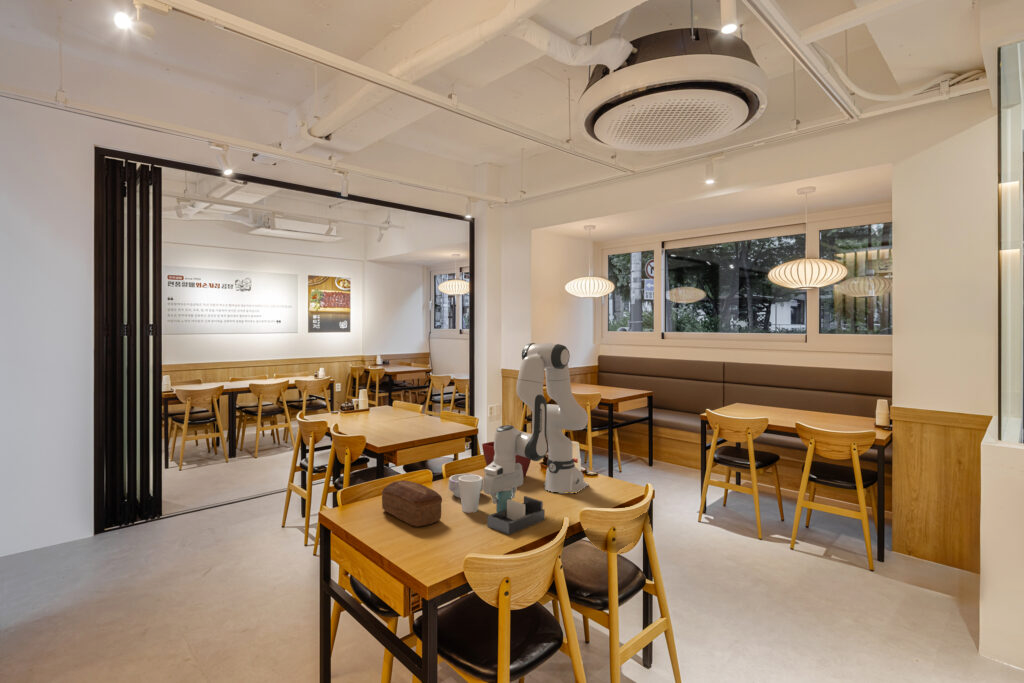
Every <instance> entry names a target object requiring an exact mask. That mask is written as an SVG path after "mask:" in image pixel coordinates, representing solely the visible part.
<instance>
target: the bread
mask: <svg viewBox="0 0 1024 683" xmlns="http://www.w3.org/2000/svg"><path fill="white" fill-rule="evenodd" d="M381 501H382V502H381V504H382V505H381V506H382V510H384V511H385V512H386V513H387V512H388V513H387V514H390V515H392V516H394V517H395V518H396V519H398V520H401V521H402V522H405V523H406V524H408V525H410V526H412V527H418V528H419V527H424V526H427V525H428V526H429V525H431V524H434V523H437V522H438V521H440V520H441V519H442V502H443V498H442V496H441V495H440V494H439V493H438V492H437V491H436V490H434V489H431V488H429V487H427V486H426V485H423V484H420V483H417V482H413V481H409V480H405V479H404V480H402V479H401V480H396V481H393V482H391V483H390V484H388V485H386V486H385V487H384V488H383V490H382V491H381Z"/></svg>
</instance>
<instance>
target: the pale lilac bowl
mask: <svg viewBox="0 0 1024 683" xmlns="http://www.w3.org/2000/svg"><path fill="white" fill-rule="evenodd" d="M464 475H477V476H480V477H482V485H481V490H480V492H482V491H483V481H484V477H483V476H482V475H478V474H474V473H458V474H454V475H451V476H450V477H449V478H448V490H449V491H451V492H452V494H453V495H454V496H455V497H456V498H459V499H461V496H460V487H459V477H460V476H464Z"/></svg>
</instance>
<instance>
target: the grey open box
mask: <svg viewBox="0 0 1024 683" xmlns="http://www.w3.org/2000/svg"><path fill="white" fill-rule="evenodd" d="M521 503H522V502H521ZM522 504H525V516H524V517H521V518H519V519H516V520H512V519H509V518H507V509H505V510H502V511H500V512H497V511H496V512H494V513H492V514H489V515H487V516H486V517H487V521H486V523H487V524H486V526H487V527H488V528H490V529H493V530H495V531H498V532H500V533H503V534H504V535H507V536H510V535H513V534H514V533H518V532H520V531H521V530H524V529H526V528H529V527H532V526H534V525H536V524H539V523H542V522H544V521H545V520H546V518H545V516H546V515H545V513H546V512H545V509H543V506H544V502H543V501H542V500H539V499H537V498H536V499H535V498H533V497H529V496H527V495H525V496H523V503H522ZM543 520H544V521H543Z"/></svg>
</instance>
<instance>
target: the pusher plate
mask: <svg viewBox="0 0 1024 683" xmlns="http://www.w3.org/2000/svg"><path fill="white" fill-rule="evenodd" d="M524 516H525V504H522V502H519V501H516V500H512V499H511V500H510V499H508V500H507V518H509V519H512V520H516V519H519V518H521V517H524Z"/></svg>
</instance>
